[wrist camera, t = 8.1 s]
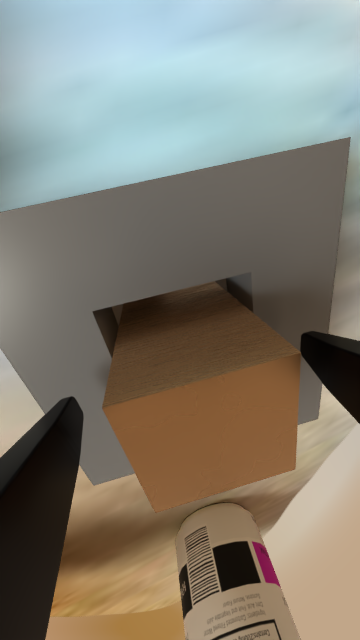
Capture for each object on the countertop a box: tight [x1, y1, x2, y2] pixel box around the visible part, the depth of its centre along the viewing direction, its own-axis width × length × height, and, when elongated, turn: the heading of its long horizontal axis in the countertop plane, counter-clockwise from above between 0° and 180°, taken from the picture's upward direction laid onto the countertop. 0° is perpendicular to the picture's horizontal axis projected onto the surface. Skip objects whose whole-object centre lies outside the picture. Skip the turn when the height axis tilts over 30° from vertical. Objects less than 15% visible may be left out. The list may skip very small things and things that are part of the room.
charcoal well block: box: [0, 137, 351, 485], centre depth 11 cm, size 13×13×4 cm
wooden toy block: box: [102, 281, 301, 513], centre depth 9 cm, size 4×4×7 cm
